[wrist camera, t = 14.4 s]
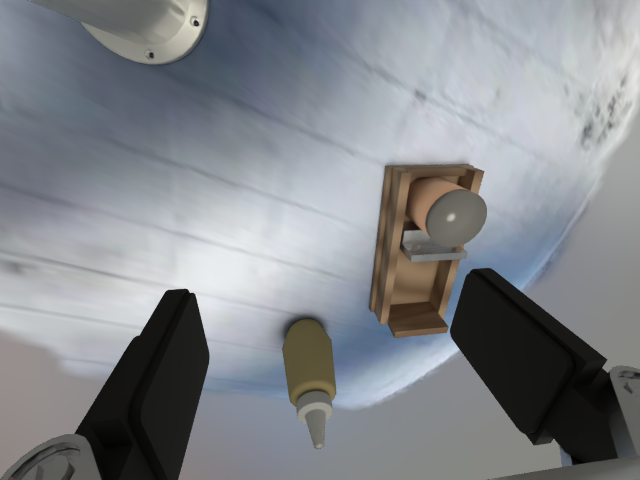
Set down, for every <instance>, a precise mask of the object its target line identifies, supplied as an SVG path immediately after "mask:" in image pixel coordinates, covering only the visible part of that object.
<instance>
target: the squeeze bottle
mask: <svg viewBox="0 0 640 480" xmlns="http://www.w3.org/2000/svg"><path fill="white" fill-rule="evenodd" d="M282 351H283V358H284V365H285V372H286V379H287V386H288V393H289V398H290V402H291V403H292V404H293V405H294V406H295V407H297V417H298V420H299V421H301V422H302V423H304V424H307V425H308V428H309V432H310V435H311V438H312V441H313V445H314V448H316V449H321V448H322V447H323V446H324V437H325V421H327V420H328V419H329V418H330V417H331V415H332V413H333V408H332V402H331V401H332V400H333V399H334V397H335V395H336V384H335V373H334V363H333V352H332V342H331V339H330V337H329V336H328V335H327V333H326V332H325V330H324V329H323V328H322V326H321V325H320V324H319V322H317V321H315V320H312V319H303V320H299V321H297V322H295V323H294V324H293V325H292V326H291V327H290V329H289V332H288V334H287V337H286V339H285V342H284V345H283V348H282Z"/></svg>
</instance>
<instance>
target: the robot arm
mask: <svg viewBox="0 0 640 480" xmlns="http://www.w3.org/2000/svg"><path fill="white" fill-rule="evenodd" d="M28 1H31V2H33V3H36V4H38V5H41V6H43V7H46V8H48V9H51V10H53V11H56V12H58V13H61V14H63V15H66V16H68V17H71V18H73V19H76V20H78V21H80V23H81V24H82V25H83V26H84V28H85V29H86V30H87V31H88V32H89V33H90V34H91V35H92V36H93V37H94V38H95V39H96V40H98V41H99V42H100V43H101V44H103V45H104V46H105V47H107V48H108V49H109V50H111V51H113V52H115V53H116V54H118V55H120V56H122V57H124V58H127V59H130V60H132V61H135V62H139V63H143V64H149V65H163V64H170V63H173V62H175V61H178V60H180V59H182V58H183V57H185V56H186V55H188V54H189V53H190V52H191V51H192V50H193V49H194V48H195V47H196V46H197V44H198V43H199V41H200V39H201V37H202V35H203V34H204V31H205V28H206V24H207V21H208V14H209V0H28ZM195 21H198V22H199V26H198V27H196V26H195ZM151 53H153V54H154V58H153V59H152V58H151ZM450 334H451V337H452V339H453V341H454V342H455V343H456V345H457V346H458V348H459V349H460V350H461V352H462V353H463V354H464V356H465V357H466V359H467V360H468V361H469V363H470V364H471V365H472V367H473V368H474V369H475V371H476V372H477V373H478V375H479V376H480V378H481V379H482V380H483V382H484V383H485V385H486V386H487V387H488V388H489V390H490V391H491V393H492V394H493V395H494V397H495V398H496V400H497V401H498V402H499V404H500V405H501V406H502V408H503V409H504V410H505V412H506V413H507V414H508V416H509V417H510V419H511V420H512V421H513V423H514V424H515V426H516V427H517V428H518V429H519V430H520V431H521V432H522V433H524V434H526V435H527V437H528V438H529V439H530V441H531V442H532V443H533V445H540V444H546V443H551V442H552V440H553V439H555V440H556V442H557V443H558V444H559V445H560V454H561V462H562V467H560V468H555V469H548V470H542V471H537V472H530V473H524V474H518V475H512V476H506V477H500V478H494V479H488V480H640V369H637V368H633V367H629V366H616V367H612V369H611V370H610V371H609V373H607V372H606V371H605V370H604V369H602V367H603V365H604V364H605V362H606V361H607V359H606V358H605V357H603V356H602V355H601V354H599V353H598V352H597V351H596V350H594V349H593V348H592V347H591V346H589V345H588V344H587V343H586V342H584V341H583V340H582V339H580V338H579V337H578V336H576V335H575V334H574V333H573V332H571V331H570V330H569V329H568V328H566V327H565V326H564V325H563V324H561V323H560V322H559V321H558V320H556V319H555V318H554V317H552V316H551V315H550V314H549V313H547V312H546V311H545V310H544V309H542V308H541V307H540V306H538V305H537V304H536V303H535V302H533V301H532V300H531V299H529V298H528V297H527V296H526V295H524V294H523V293H522V292H521V291H519V290H518V289H517V288H516V287H514V286H513V285H512V284H510V283H509V282H508V281H507V280H505V279H504V278H503V277H502V276H500V275H499V274H498V273H496V272H495V271H494V270H492V269H491V268H482V269H473V270H471V271H470V273H469V274H467V275H466V278H465V281H464V284H463V288H462V291H461V294H460V298H459V301H458V305H457V308H456V311H455V315H454V318H453V321H452V325H451V328H450ZM208 365H209V350H208V346H207V341H206V337H205V333H204V329H203V325H202V320H201V316H200V312H199V308H198V304H197V299H196V296H195V294H194V293H189V291H188V289H176V290H167V291H166V292H165V294H164V295H163V297H162V299H161V300H160V302H159V304H158V305H157V307H156V309H155V310H154V312H153V314H152V315H151V317H150V319H149V321H148V322H147V324H146V326H145V327H144V329H143V331H142V332H141V334H140V336H136V337H135V338H134V339H133V340H132V341H131V342H130V344H129V345H128V347H127V349H126V350H125V352H124V354H123V355H122V357H121V359H120V360H119V362H118V363H117V365H116V367H115V368H114V370H113V372H112V373H111V375H110V376H109V378H108V380H107V381H106V383H105V385H104V386H103V388H102V390H101V391H100V393H99V394H98V396H97V398H96V399H95V401H94V403H93V404H92V406H91V407H90V409H89V411H88V413H87V414H86V416H85V417H84V419H83V420H82V422H81V424H80V425H79V427H78V429H77V430H76V432H75V434H67V435H62V436H59V437H56V438H52V439H50V440H48V441H46V442H44V443H42V444H40V445H38V446H37V447H35V448H34V449H33V450H31V451H29V452H28V453H27V454H25V455H24V456H23V457H21V458H20V459H19V460H18V461H17V462H16V463H15V464H14V465H13V466H11V467H10V468H9V469H8V470H7V471H6V472H5V474H4V475H3V476H2V477H1V479H0V480H178V478H179V474H180V471H181V467H182V463H183V459H184V456H185V452H186V448H187V444H188V440H189V437H190V433H191V429H192V425H193V422H194V418H195V414H196V410H197V406H198V403H199V399H200V395H201V391H202V388H203V384H204V380H205V376H206V373H207V369H208Z"/></svg>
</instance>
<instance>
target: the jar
mask: <svg viewBox="0 0 640 480" xmlns="http://www.w3.org/2000/svg"><path fill="white" fill-rule="evenodd" d="M405 215H406V216H407V217H408V218H409V219H410V220H411V221H412V222H414V223H415V224H416V225H417V226H418V227H419V228H420V229H421V230H422V231H424V232H425V233H426V234H427V235H428V236H429V237H430V238H431V239H432V240H434V241H435V242H436V243H437V244H439V245H441V246H443V247H457V246H460V245H463V244H465V243H467V242H469V241H470V240H471V239H473V238H474V237H475V236H476V235H477V234H478V233H479V232H480V230H481V229H482V227H483V225H484V223H485V220H486V216H487V207H486V204H485V202H484V200H483V199H482V198H481V197H480V196H479V195H477V194H475V193H473V192H471V191H469V190H467V189H465V188H463V187H460V186H458V185H456V184H454V183H452V182H450V181H448V180H446V179H443V178H441V177H418V178H416V179H415V180H414V181H412V182H411V183H410V184H409V191H408V197H407V203H406V210H405Z"/></svg>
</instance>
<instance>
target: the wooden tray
mask: <svg viewBox="0 0 640 480" xmlns="http://www.w3.org/2000/svg"><path fill="white" fill-rule="evenodd" d="M483 174H484V171H482V170H479V169H477V168H474V166H472V165H417V166H386V167H385V176H384V184H383V193H382V202H381V210H380V219H379V227H378V236H377V245H376V253H375V262H374V271H373V279H372V288H371V297H370V305H369V309H370V311H371V312H375V314H376V316H377V318H378V321H379V323H380V324H388V326H389V328H390V330H391V332H392V334H393V336H394V338H399V337H409V336H419V335H429V334H439V333H447V330H448V326H447V324H446V323H445V322H444V320H443V319H444V316H445V312H446V308H447V305H448V301H449V298H450V294H451V290H452V287H453V283H454V279H455V276H456V272H457V269H458V265H459V261H460V259H454V260H438V261H422V262H410V260H409V259H408V258H407V257H406V256H405V254H404V253H403V252H402V251H401V250H400V241H401V235H402V229H403V223H414V222H412V221H411V220H410V219H409V218H408V217H407V216H406V215H405V210H406V203H407V197H408V191H409V184H410V183H411V182H412V181H414V180H415V179H416V178H418V177H441V178H443V179H446V180H448V181H450V182H452V183H454V184H456V185H458V186H460V187H463V188H465V189H467V190H469V191H471V192H473V193H475V194H477V195H478V193H479V189H480V185H481V182H482V178H483ZM460 247H462V248H463V247H464V244H463V245H460Z"/></svg>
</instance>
